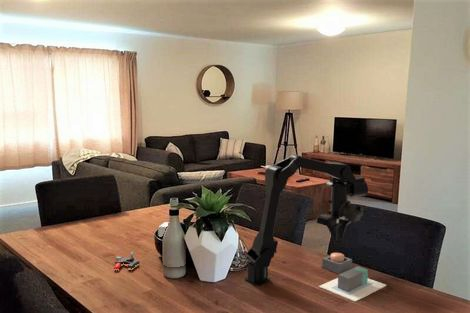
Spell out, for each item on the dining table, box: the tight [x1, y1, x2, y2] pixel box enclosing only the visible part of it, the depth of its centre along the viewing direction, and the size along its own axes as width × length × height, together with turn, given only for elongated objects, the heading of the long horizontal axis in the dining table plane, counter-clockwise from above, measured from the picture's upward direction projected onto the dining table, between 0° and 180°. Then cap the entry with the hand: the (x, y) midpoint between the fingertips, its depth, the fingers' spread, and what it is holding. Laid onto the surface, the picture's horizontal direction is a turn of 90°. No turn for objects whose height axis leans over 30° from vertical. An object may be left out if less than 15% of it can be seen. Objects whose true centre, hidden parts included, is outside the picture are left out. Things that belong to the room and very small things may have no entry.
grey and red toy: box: [113, 251, 140, 270], centre depth 160 cm, size 10×12×5 cm
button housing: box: [320, 255, 354, 275], centre depth 160 cm, size 8×8×4 cm
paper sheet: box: [318, 277, 387, 303], centre depth 144 cm, size 18×14×1 cm
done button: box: [330, 252, 345, 263], centre depth 159 cm, size 5×5×3 cm
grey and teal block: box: [337, 266, 369, 292], centre depth 144 cm, size 11×4×4 cm, turn 130°
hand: (338, 239), depth 158 cm, fingers open, 3 cm apart
